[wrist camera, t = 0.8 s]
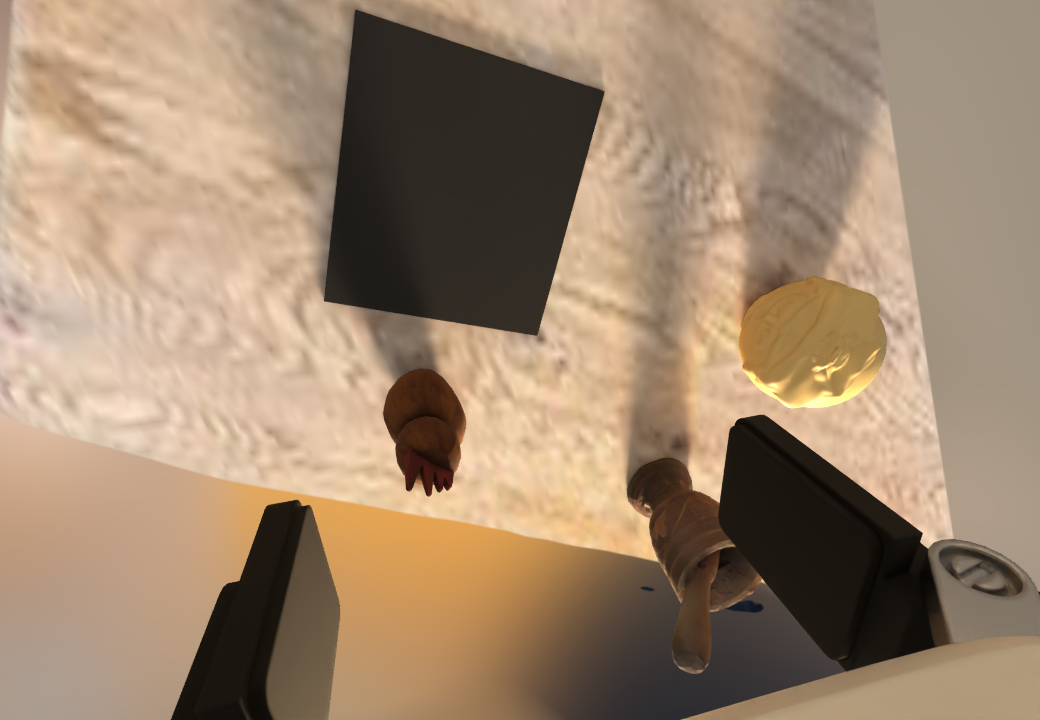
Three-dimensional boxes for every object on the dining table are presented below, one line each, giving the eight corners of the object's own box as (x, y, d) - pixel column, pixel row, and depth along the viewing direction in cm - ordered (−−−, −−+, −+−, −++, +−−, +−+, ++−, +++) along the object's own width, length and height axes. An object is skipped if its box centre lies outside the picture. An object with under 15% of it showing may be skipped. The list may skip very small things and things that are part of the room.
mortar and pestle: (607, 538, 58) (700, 719, 40) (584, 486, 54) (675, 662, 36) (697, 494, 58) (829, 655, 40) (680, 439, 54) (819, 591, 36)
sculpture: (770, 246, 47) (866, 276, 37) (846, 302, 51) (949, 342, 42) (697, 349, 50) (768, 401, 40) (775, 393, 54) (856, 450, 45)
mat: (355, 10, 33) (355, 9, 33) (603, 91, 38) (604, 91, 38) (324, 300, 40) (323, 301, 40) (536, 334, 45) (537, 335, 45)
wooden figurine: (372, 379, 43) (361, 490, 30) (430, 346, 43) (444, 442, 30) (416, 433, 47) (423, 556, 33) (469, 402, 46) (498, 512, 33)
